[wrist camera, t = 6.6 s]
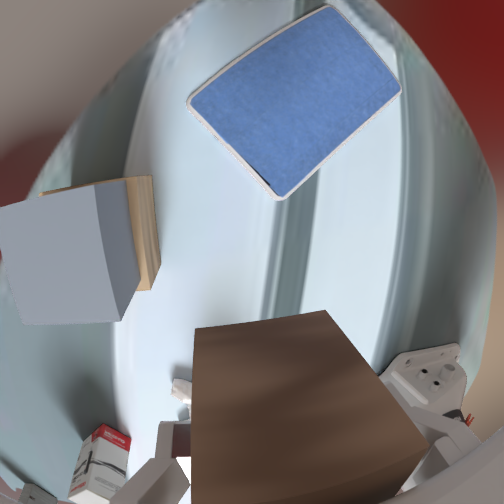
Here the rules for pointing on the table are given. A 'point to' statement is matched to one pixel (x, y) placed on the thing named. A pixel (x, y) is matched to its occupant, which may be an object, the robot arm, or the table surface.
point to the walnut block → (294, 417)
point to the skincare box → (36, 495)
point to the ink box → (100, 467)
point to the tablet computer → (295, 99)
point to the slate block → (71, 255)
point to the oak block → (138, 225)
